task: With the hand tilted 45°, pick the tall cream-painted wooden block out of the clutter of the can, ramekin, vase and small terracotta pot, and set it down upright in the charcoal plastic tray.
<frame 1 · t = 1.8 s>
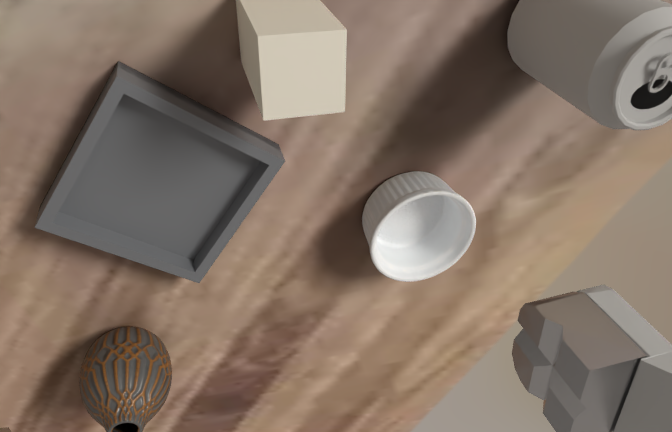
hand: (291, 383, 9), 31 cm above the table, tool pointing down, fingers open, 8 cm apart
ramekin: (404, 208, 49), on the table
tray: (162, 174, 41), on the table
vase: (127, 341, 49), on the table
cream block: (273, 24, 37), on the table
can: (546, 19, 42), on the table
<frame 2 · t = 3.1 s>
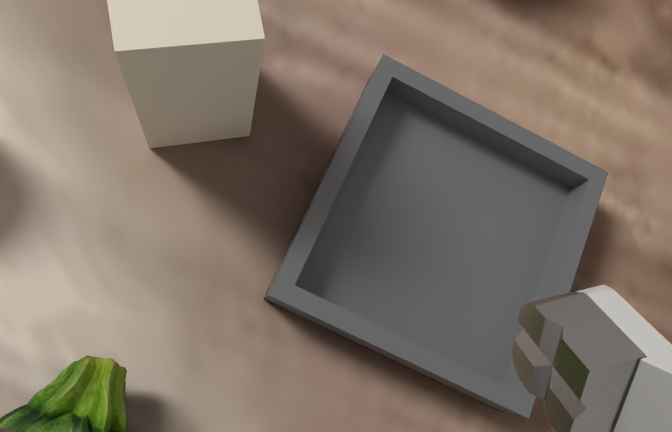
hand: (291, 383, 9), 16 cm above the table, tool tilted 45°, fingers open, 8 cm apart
tray: (432, 238, 27), on the table
cream block: (192, 96, 26), on the table
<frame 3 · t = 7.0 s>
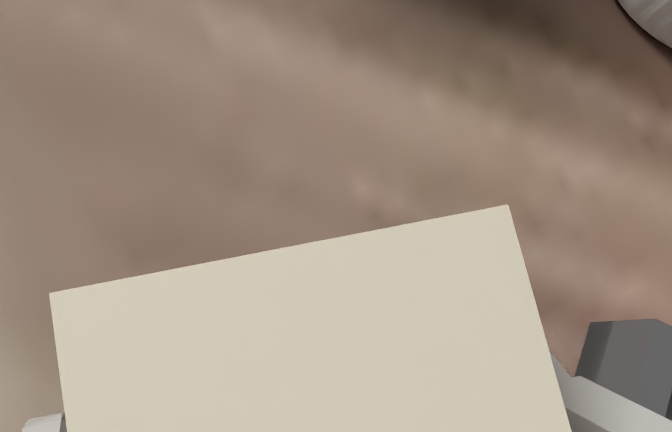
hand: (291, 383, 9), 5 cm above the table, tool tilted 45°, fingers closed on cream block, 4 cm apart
cream block: (278, 396, 14), on the table, touching gripper
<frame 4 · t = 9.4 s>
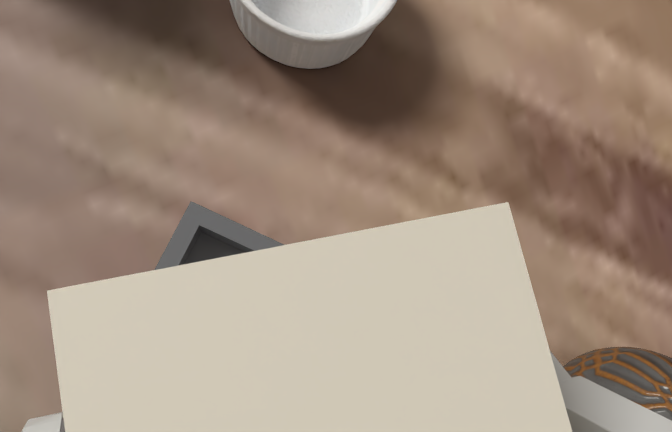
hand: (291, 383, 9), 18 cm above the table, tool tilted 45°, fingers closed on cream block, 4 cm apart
ramekin: (303, 7, 31), on the table
tray: (253, 383, 26), on the table
vase: (580, 415, 29), on the table
cream block: (277, 396, 14), point 13 cm above the table, touching gripper
when the fingers open (7 cm above the table, at t = 11.8 s): cream block drops 1 cm, resting on tray.
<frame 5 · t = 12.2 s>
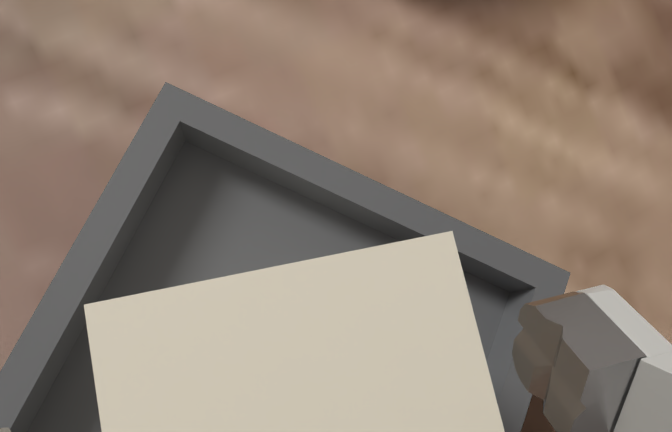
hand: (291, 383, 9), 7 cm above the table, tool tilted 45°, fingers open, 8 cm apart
tray: (273, 388, 16), on the table
cream block: (272, 391, 15), point 1 cm above the table, touching tray
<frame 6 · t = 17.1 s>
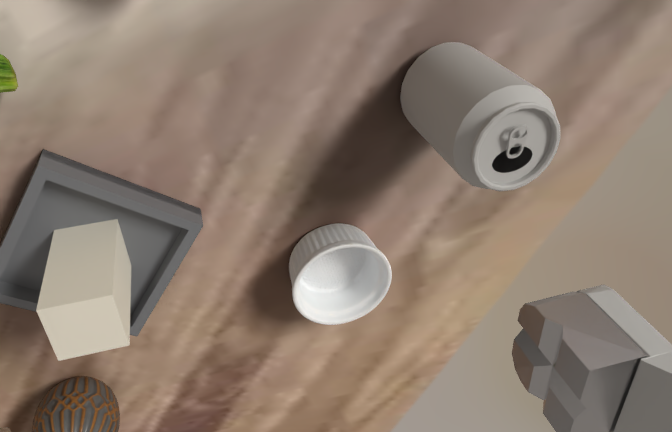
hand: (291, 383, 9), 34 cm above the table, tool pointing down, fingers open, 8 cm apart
ramekin: (329, 256, 53), on the table
tray: (95, 241, 45), on the table
vase: (80, 389, 53), on the table
cream block: (94, 248, 44), point 1 cm above the table, touching tray
can: (438, 84, 46), on the table
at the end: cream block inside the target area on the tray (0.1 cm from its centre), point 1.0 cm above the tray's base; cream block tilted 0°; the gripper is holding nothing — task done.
